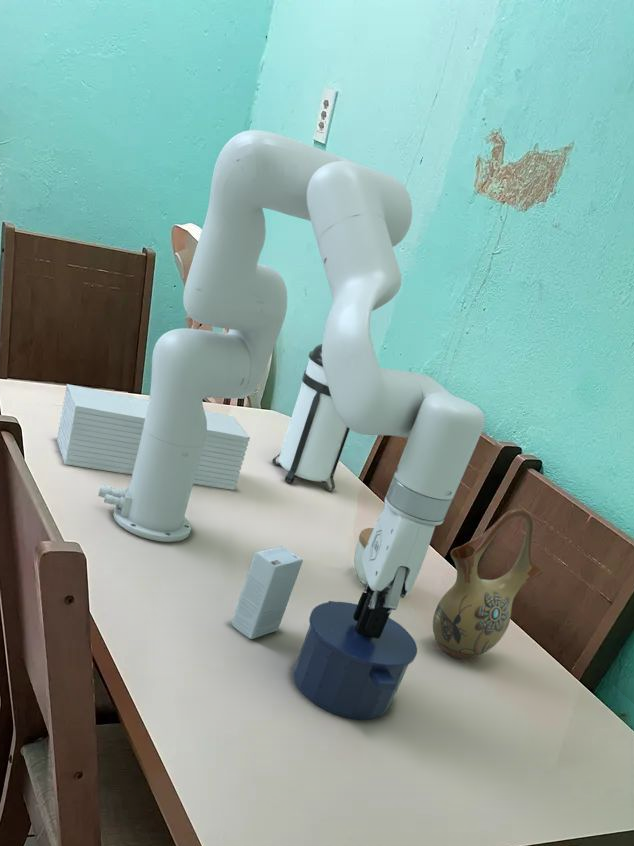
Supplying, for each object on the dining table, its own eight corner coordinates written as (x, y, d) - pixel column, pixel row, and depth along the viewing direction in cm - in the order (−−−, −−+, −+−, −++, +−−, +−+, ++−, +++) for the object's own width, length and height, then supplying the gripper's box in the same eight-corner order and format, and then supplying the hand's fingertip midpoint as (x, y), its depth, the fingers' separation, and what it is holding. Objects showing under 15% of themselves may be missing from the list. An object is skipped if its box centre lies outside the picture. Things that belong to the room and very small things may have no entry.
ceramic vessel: (423, 664, 130) (491, 514, 118) (399, 631, 137) (462, 486, 125) (511, 673, 136) (584, 532, 124) (485, 640, 143) (552, 504, 131)
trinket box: (401, 605, 145) (422, 557, 140) (341, 583, 145) (360, 533, 140) (406, 581, 154) (426, 534, 150) (349, 559, 154) (367, 512, 150)
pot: (318, 730, 107) (341, 675, 103) (275, 643, 121) (293, 591, 117) (412, 735, 112) (437, 682, 108) (360, 651, 127) (380, 602, 123)
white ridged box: (64, 464, 151) (75, 405, 146) (56, 440, 159) (66, 383, 154) (234, 490, 166) (250, 437, 160) (219, 467, 174) (233, 416, 168)
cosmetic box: (257, 616, 126) (281, 543, 120) (279, 632, 124) (305, 559, 118) (228, 625, 122) (252, 549, 116) (251, 642, 120) (277, 566, 114)
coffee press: (349, 486, 188) (399, 350, 174) (314, 497, 175) (364, 351, 161) (285, 453, 194) (328, 318, 180) (246, 461, 181) (288, 317, 167)
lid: (329, 667, 104) (348, 621, 101) (293, 603, 116) (309, 560, 112) (431, 676, 110) (452, 632, 107) (388, 614, 122) (405, 573, 118)
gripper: (379, 467, 109) (332, 591, 118) (399, 519, 96) (344, 655, 104) (434, 483, 111) (383, 604, 120) (461, 536, 97) (402, 669, 106)
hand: (366, 627), depth 112 cm, fingers closed on lid, 2 cm apart
